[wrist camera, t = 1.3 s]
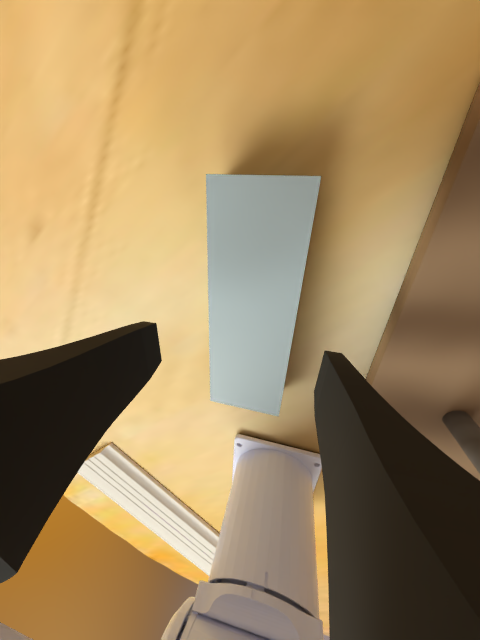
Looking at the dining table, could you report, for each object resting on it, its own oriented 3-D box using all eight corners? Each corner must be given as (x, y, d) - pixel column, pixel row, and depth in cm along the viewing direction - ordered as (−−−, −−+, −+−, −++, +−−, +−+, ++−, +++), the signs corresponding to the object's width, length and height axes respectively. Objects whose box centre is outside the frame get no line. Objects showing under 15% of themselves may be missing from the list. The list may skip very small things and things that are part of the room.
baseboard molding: (120, 434, 27) (81, 458, 32) (101, 457, 24) (63, 478, 30) (276, 569, 33) (221, 569, 38) (274, 599, 30) (215, 595, 35)
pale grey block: (281, 386, 18) (278, 416, 15) (222, 374, 19) (210, 400, 16) (316, 185, 12) (321, 176, 9) (225, 182, 13) (205, 174, 10)
